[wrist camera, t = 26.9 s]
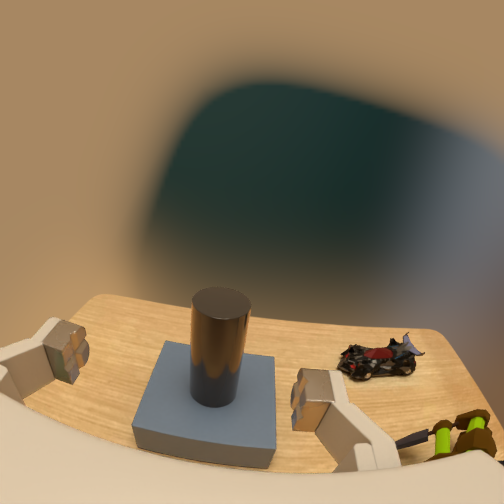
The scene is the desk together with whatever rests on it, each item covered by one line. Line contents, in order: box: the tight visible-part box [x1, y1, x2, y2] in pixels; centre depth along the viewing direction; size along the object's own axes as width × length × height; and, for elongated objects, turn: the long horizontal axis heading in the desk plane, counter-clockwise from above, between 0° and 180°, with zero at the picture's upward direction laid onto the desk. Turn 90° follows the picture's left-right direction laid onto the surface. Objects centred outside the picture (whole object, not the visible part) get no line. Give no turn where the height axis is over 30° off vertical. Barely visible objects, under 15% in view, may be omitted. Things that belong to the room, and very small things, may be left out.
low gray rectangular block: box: [132, 341, 276, 468], centre depth 27 cm, size 12×12×4 cm
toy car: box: [337, 332, 425, 380], centre depth 37 cm, size 6×12×4 cm, turn 96°
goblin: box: [395, 409, 504, 466], centre depth 18 cm, size 10×14×15 cm
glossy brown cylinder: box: [190, 287, 251, 408], centre depth 24 cm, size 4×4×10 cm
